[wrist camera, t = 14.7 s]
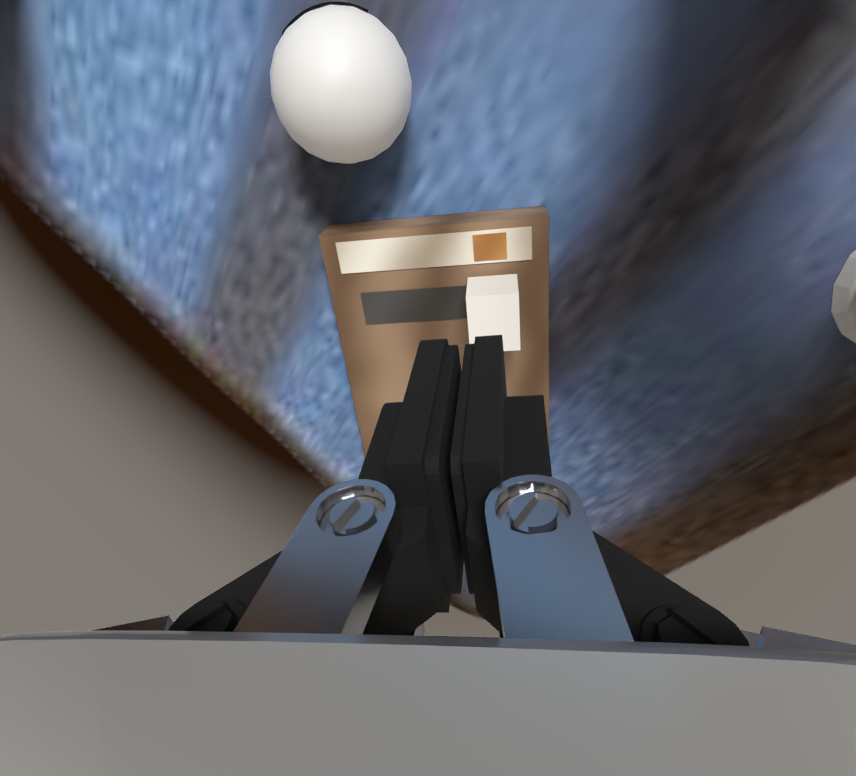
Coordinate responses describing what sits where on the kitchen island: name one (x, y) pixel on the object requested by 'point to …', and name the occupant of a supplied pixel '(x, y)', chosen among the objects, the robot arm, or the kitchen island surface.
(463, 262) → the switch board
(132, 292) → the kitchen island surface
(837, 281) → the french press
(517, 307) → the tab
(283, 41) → the seamed sphere
